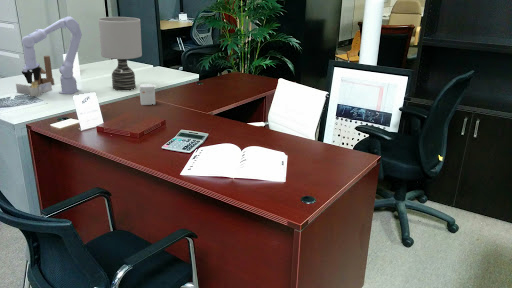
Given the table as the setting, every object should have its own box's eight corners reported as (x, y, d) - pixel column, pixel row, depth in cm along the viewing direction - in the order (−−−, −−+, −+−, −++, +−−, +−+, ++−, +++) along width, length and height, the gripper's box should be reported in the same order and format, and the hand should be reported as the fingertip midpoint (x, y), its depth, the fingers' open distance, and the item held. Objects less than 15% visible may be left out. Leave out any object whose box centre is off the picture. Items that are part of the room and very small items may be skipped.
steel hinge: (26, 88, 270) (24, 80, 269) (52, 89, 270) (51, 81, 268) (11, 95, 256) (9, 86, 254) (38, 96, 255) (37, 88, 253)
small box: (154, 101, 257) (153, 84, 253) (155, 104, 252) (154, 86, 248) (140, 102, 255) (139, 84, 251) (141, 105, 250) (140, 87, 246)
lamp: (105, 83, 289) (99, 16, 273) (143, 83, 295) (139, 17, 279) (102, 93, 268) (96, 21, 252) (143, 92, 274) (140, 22, 258)
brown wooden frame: (36, 83, 281) (32, 55, 275) (54, 83, 283) (50, 55, 277) (34, 85, 278) (30, 56, 271) (52, 85, 280) (49, 56, 273)
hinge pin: (34, 93, 260) (32, 81, 257) (40, 94, 260) (39, 81, 257) (30, 95, 257) (28, 82, 254) (36, 96, 256) (35, 83, 253)
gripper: (30, 55, 257) (33, 78, 262) (16, 60, 244) (19, 84, 249) (42, 56, 257) (45, 79, 262) (28, 60, 243) (31, 85, 248)
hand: (33, 81), depth 255 cm, fingers open, 7 cm apart
